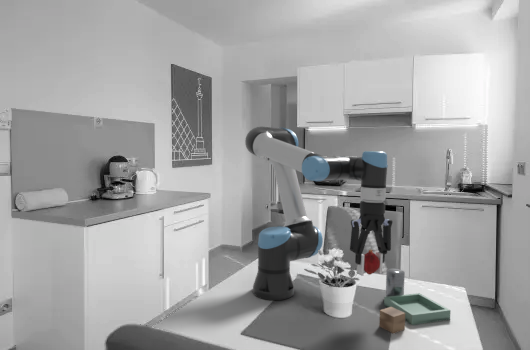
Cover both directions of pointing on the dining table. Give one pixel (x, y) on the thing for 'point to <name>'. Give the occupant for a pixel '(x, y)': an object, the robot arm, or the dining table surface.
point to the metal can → (394, 282)
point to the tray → (418, 308)
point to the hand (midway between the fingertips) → (369, 273)
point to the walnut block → (392, 320)
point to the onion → (371, 262)
